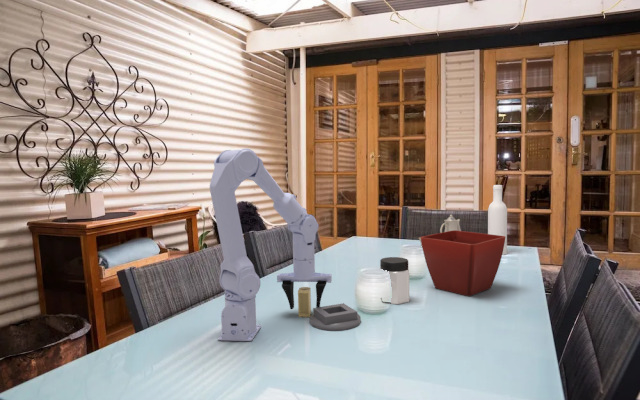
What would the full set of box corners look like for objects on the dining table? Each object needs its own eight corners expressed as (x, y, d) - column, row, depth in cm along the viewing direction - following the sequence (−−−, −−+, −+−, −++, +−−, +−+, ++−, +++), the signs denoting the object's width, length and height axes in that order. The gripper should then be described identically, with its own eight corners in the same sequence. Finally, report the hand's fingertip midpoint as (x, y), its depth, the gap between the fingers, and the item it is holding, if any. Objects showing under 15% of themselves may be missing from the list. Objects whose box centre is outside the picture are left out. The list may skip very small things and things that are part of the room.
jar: (375, 301, 129) (374, 261, 128) (385, 294, 136) (384, 256, 135) (404, 306, 124) (404, 264, 123) (413, 298, 131) (413, 258, 131)
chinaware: (448, 245, 225) (446, 212, 225) (478, 245, 212) (475, 211, 213) (414, 253, 207) (411, 217, 208) (444, 254, 195) (441, 216, 195)
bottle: (508, 252, 195) (509, 184, 193) (505, 255, 188) (506, 185, 186) (489, 251, 199) (489, 184, 197) (485, 254, 193) (486, 185, 190)
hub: (322, 334, 105) (321, 321, 104) (302, 317, 117) (302, 306, 116) (369, 325, 110) (369, 313, 110) (346, 310, 122) (346, 299, 122)
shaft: (309, 317, 117) (309, 291, 116) (298, 316, 117) (297, 291, 117) (311, 312, 121) (311, 286, 120) (300, 311, 121) (300, 286, 121)
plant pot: (473, 301, 127) (473, 243, 126) (419, 288, 142) (419, 236, 140) (506, 289, 139) (507, 236, 138) (453, 278, 154) (453, 230, 153)
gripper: (332, 255, 121) (333, 303, 122) (280, 255, 123) (281, 303, 124) (329, 260, 114) (330, 312, 115) (274, 260, 116) (276, 311, 117)
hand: (305, 308), depth 119 cm, fingers open, 6 cm apart
